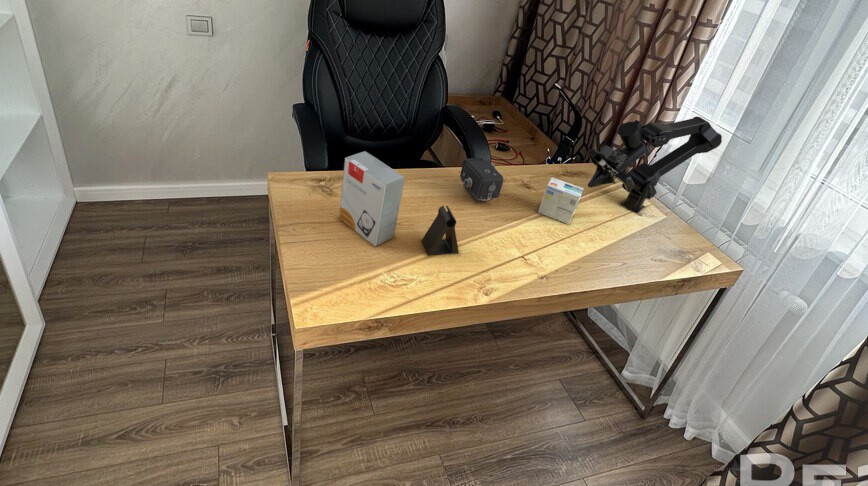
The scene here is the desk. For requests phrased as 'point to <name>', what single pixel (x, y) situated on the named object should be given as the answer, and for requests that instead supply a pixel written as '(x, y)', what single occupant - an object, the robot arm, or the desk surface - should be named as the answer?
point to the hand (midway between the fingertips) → (588, 186)
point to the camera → (481, 179)
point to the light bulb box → (560, 200)
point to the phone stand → (441, 234)
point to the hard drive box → (370, 197)
